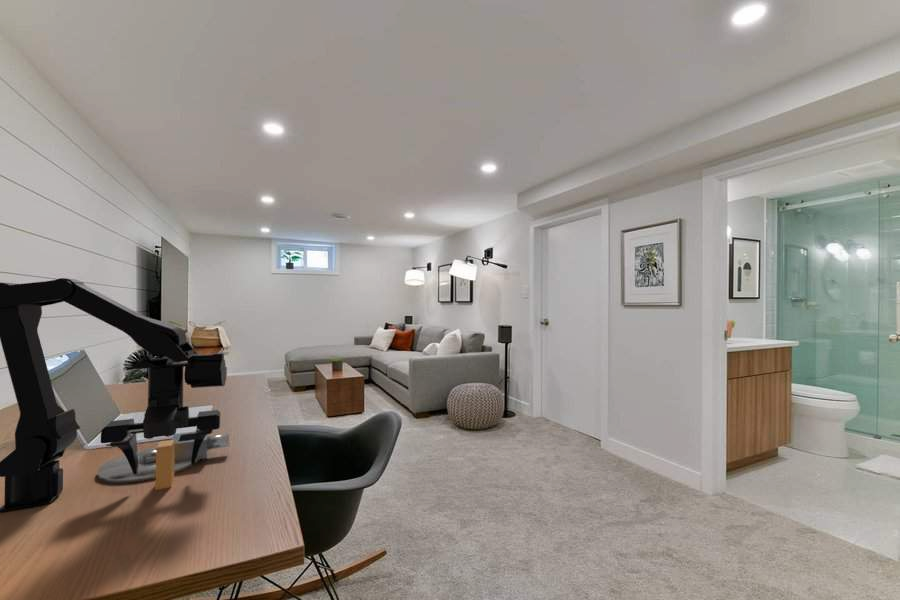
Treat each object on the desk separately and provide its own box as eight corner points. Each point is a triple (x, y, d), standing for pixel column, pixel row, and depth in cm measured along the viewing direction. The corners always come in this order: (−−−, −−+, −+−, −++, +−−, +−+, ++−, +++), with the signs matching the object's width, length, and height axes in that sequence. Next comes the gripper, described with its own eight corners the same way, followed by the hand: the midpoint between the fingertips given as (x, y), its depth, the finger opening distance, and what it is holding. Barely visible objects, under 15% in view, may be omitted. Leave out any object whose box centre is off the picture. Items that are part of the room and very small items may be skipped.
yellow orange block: (155, 490, 77) (156, 447, 77) (159, 482, 80) (159, 441, 81) (171, 487, 78) (171, 445, 78) (174, 479, 82) (174, 439, 82)
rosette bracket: (85, 490, 77) (85, 463, 77) (111, 459, 92) (111, 436, 93) (227, 467, 88) (228, 443, 88) (229, 442, 104) (229, 422, 104)
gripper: (91, 403, 68) (90, 496, 68) (219, 392, 77) (218, 474, 77) (109, 391, 78) (108, 472, 78) (220, 382, 87) (220, 455, 86)
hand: (165, 469), depth 79 cm, fingers open, 9 cm apart
